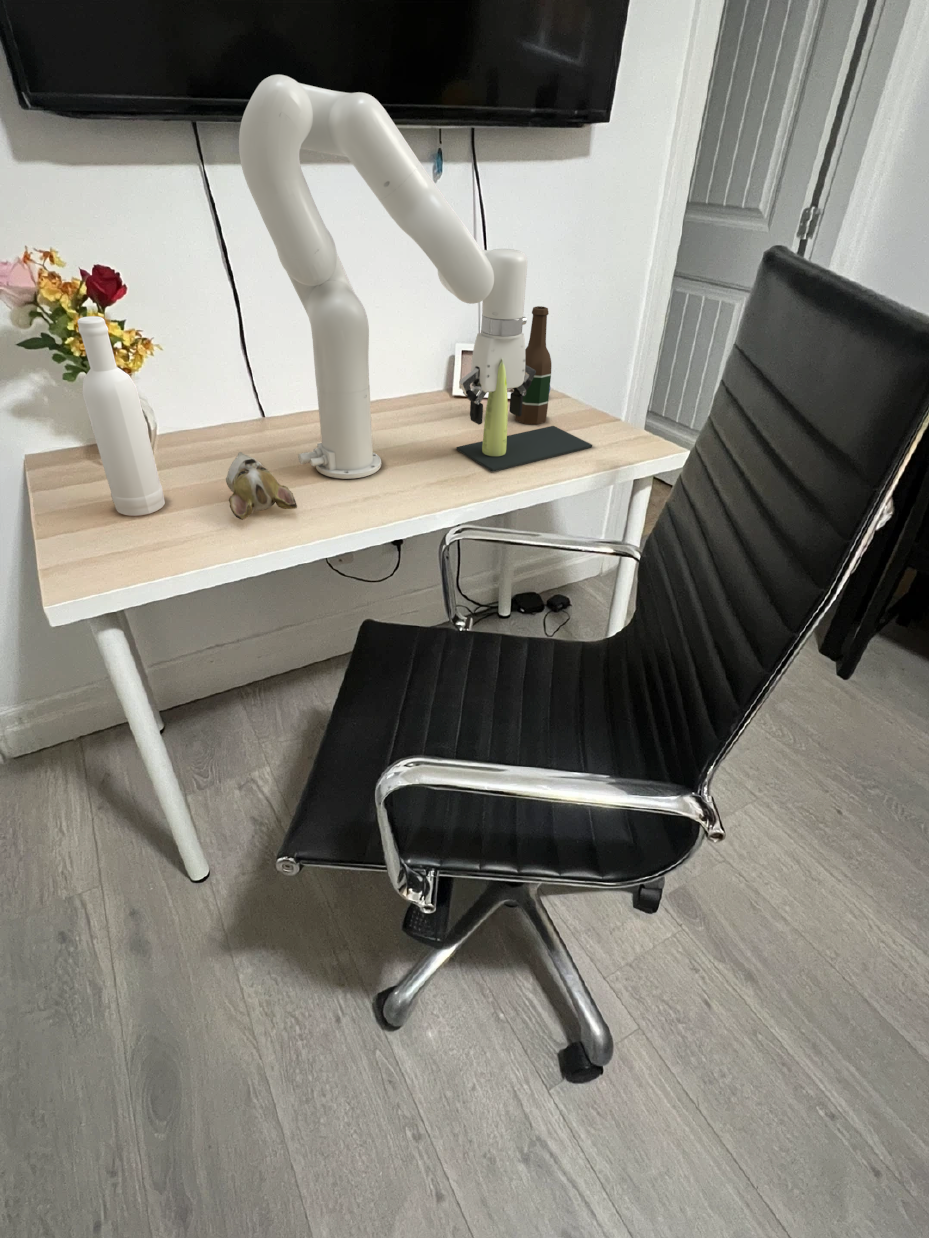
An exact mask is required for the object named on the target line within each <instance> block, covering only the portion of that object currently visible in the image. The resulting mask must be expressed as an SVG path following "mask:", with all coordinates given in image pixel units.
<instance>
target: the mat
mask: <svg viewBox="0 0 929 1238" xmlns="http://www.w3.org/2000/svg"><path fill="white" fill-rule="evenodd" d="M482 444H483V440H482V441H477V442H473V443H468V444H464V445H459V446H456V447H455V449H456V451H458V452H459V453H461V454H463V455H464V456H466V457H467V458H469V459H471V460H472V461H474V462H476V463H477V464H479V465H480V466H482V467H484V468H485V469H486V470H489V471H490V472H492V473H494V472H498V471H502V470H507V469H510V468H515V467H518V466H523V465H527V464H531V463H535V462H539V461H543V460H547V459H551V458H555V457H559V456H563V455H568V454H572V453H575V452H580V451H585V450H588V449H592V448H593V444H592V443H589V442H588V441H585V440H583V439H581V438H579V437H577V436H575V435H573V434H571V433H570V432H567V431H566V430H563V429H561V428H559V427H557V426H555V425H550V426H546V427H540V428H537V429H532V430H528V431H522V432H518V433H514V434H509V435H507V444H506V453H505V454H504V455H502V456H498V457H493V456H488V455H486V454H484V453H483V452H482Z"/></svg>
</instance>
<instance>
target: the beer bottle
mask: <svg viewBox="0 0 929 1238" xmlns="http://www.w3.org/2000/svg"><path fill="white" fill-rule="evenodd" d="M531 314H532V318H531V319H532V320H531V325H530V333H529V341H528V343H527V346H526V347H525V364H526V365H527V366H529V367H531V368H532V369H534V370H535V371H536V373H535V376H534V378H533V380H532V381H531V385H530V387H529V388H528V389H527V391H526V395H525V396H523V404H522V413H521V416H519V417H518V416H516V415H514V418H515V421H517V422H519V423H521V424H523V425H535V426H537V425H539V424H540V425H541V424H544V423H546V421H547V415H548V408H549V407H548V406H549V397H550V393H549V390H550V391H551V380H552V379H551V378H552V357H551V354H550V352H549V350H548V348H547V323H548V315H550V314H549V308H548V307H546V306H542V305H541V306H540V305H538V306H533V307H532V310H531ZM524 378H525V376H524Z"/></svg>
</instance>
